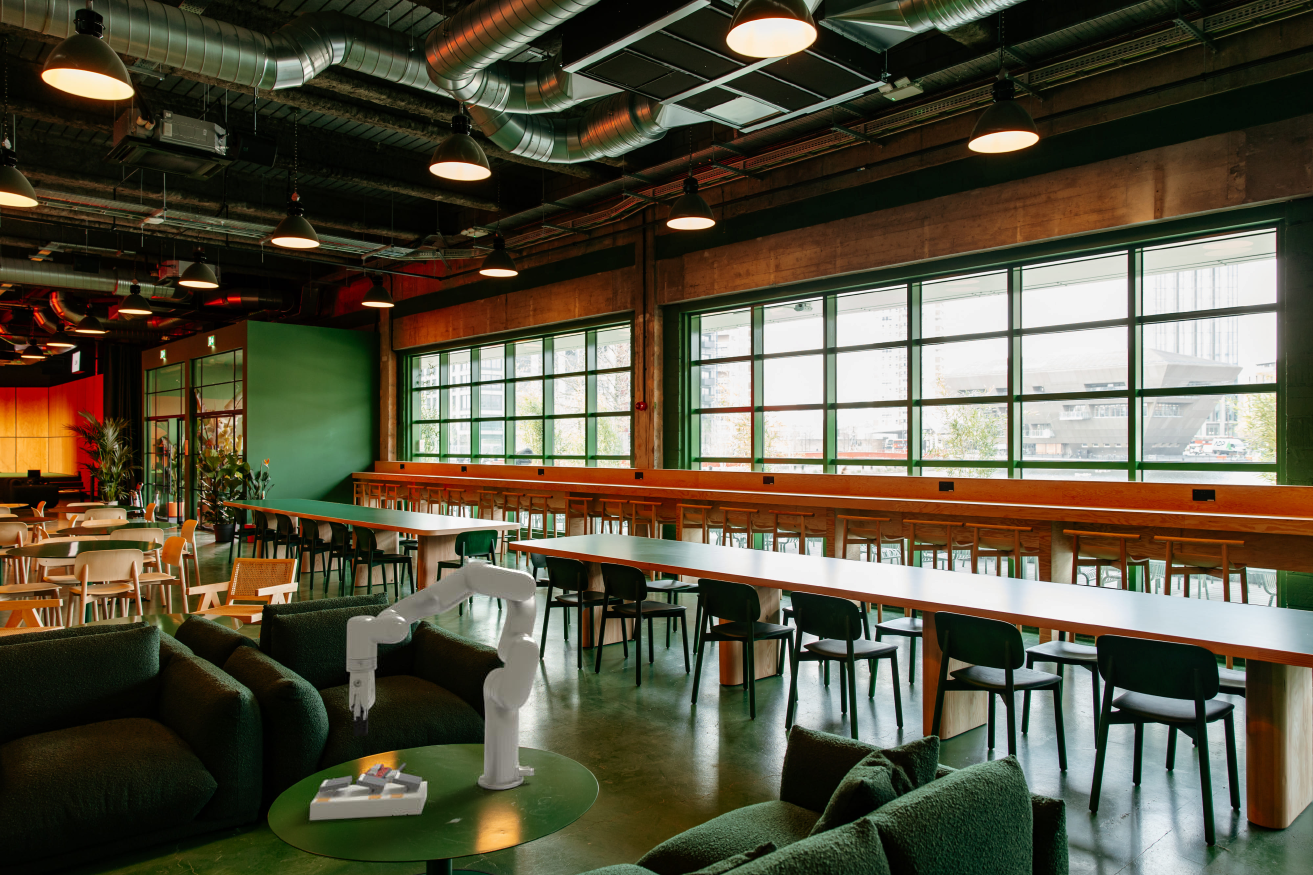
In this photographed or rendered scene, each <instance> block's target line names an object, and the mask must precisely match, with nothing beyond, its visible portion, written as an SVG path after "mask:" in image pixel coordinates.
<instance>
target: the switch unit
mask: <svg viewBox="0 0 1313 875" xmlns="http://www.w3.org/2000/svg"><path fill="white" fill-rule="evenodd" d="M427 797H428V781H423V780H422V781H421V784H420V787H419V789H417V788H412V787H407V786H403V785H398V784H394V783H392V782H391V783H386V785H385V787H384V789H383V791H382V790H377V789H372V788H368V787H363V786H358V785H356V784H350V785H349V786H348V787H346V788H341V789H335V790H330V791H325V792H320V790H319V791H318V792H317V793H316V795H315V796H314V798H313V800H312V801H311V802H310V806H309V807H310V808H309V821H319V820H320V821H321V820H334V819H335V820H337V819H340V820H341V819H354V818H373V817H391V816H392V815H393V816H407V814H408V816H409V815H410V816H411V815H422V812H423V809H424V806H425V803H426V800H427Z"/></svg>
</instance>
